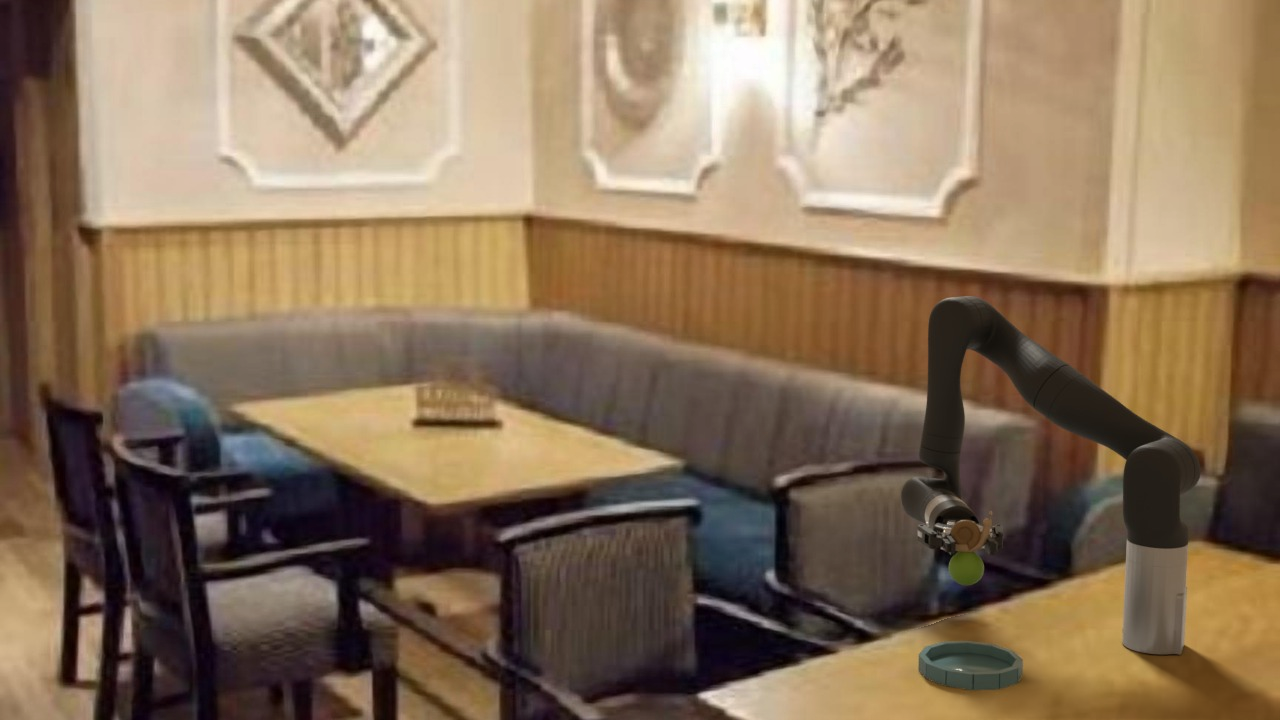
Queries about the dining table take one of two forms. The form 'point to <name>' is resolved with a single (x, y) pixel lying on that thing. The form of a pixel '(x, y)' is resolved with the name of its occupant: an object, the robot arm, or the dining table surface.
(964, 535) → the snail figurine
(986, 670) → the dish
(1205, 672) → the dining table surface
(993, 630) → the dining table surface
